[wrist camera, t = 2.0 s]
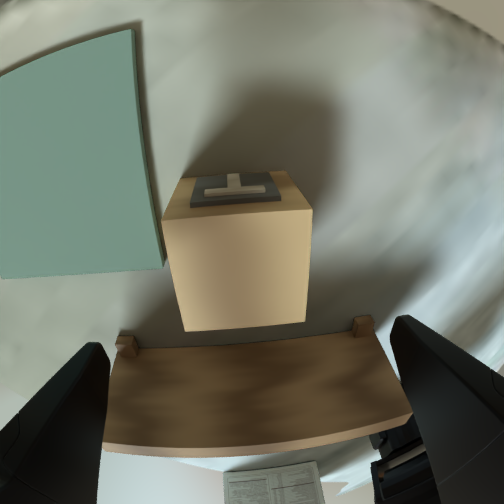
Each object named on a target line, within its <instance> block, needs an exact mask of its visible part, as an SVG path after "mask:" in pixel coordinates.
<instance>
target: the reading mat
mask: <svg viewBox="0 0 504 504" xmlns="http://www.w3.org/2000/svg"><path fill="white" fill-rule="evenodd" d="M164 264H165V261H164V256H163V251H162V246H161V242H160V237H159V231H158V226H157V221H156V216H155V210H154V205H153V199H152V193H151V187H150V181H149V174H148V168H147V161H146V154H145V146H144V139H143V130H142V122H141V113H140V103H139V92H138V80H137V67H136V50H135V31H134V30H132V29H128V30H124V31H120V32H116V33H112V34H108V35H105V36H101V37H98V38H94V39H91V40H88V41H85V42H82V43H79V44H76V45H73V46H70V47H67V48H64V49H62V50H59V51H56V52H54V53H51V54H49V55H46V56H44V57H41V58H39V59H37V60H34V61H32V62H30V63H28V64H25V65H23V66H21V67H19V68H17V69H15V70H13V71H11V72H9V73H7V74H5V75H3V76H1V77H0V276H1V278H2V279H15V278H31V277H47V276H62V275H77V274H92V273H106V272H121V271H135V270H148V269H162V268H163V267H164Z"/></svg>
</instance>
